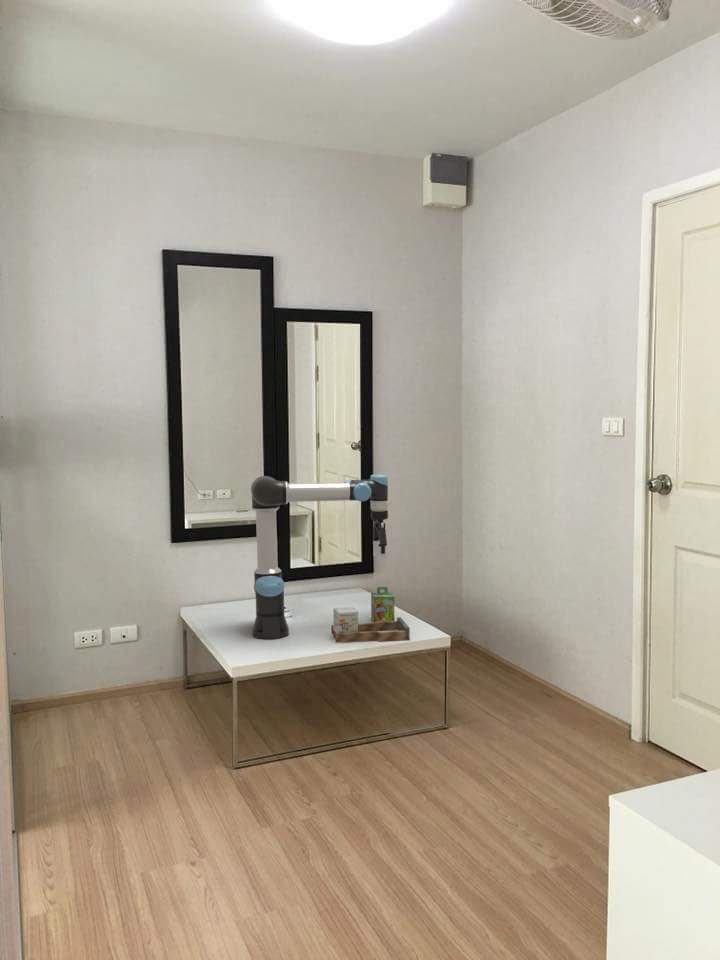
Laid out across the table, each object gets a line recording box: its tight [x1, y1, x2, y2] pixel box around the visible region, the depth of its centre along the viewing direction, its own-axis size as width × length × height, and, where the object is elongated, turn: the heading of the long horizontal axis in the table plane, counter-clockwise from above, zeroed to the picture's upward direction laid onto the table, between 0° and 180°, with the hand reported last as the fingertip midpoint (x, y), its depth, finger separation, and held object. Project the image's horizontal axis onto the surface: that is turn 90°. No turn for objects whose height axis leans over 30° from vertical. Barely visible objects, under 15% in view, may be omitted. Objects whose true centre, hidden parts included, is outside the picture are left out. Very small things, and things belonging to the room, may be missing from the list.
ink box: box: [332, 606, 359, 638], centre depth 333 cm, size 9×9×12 cm
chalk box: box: [370, 586, 395, 622], centre depth 359 cm, size 9×9×15 cm
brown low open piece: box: [330, 616, 411, 644], centre depth 335 cm, size 30×17×5 cm, turn 100°
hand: (379, 558), depth 357 cm, fingers open, 13 cm apart
